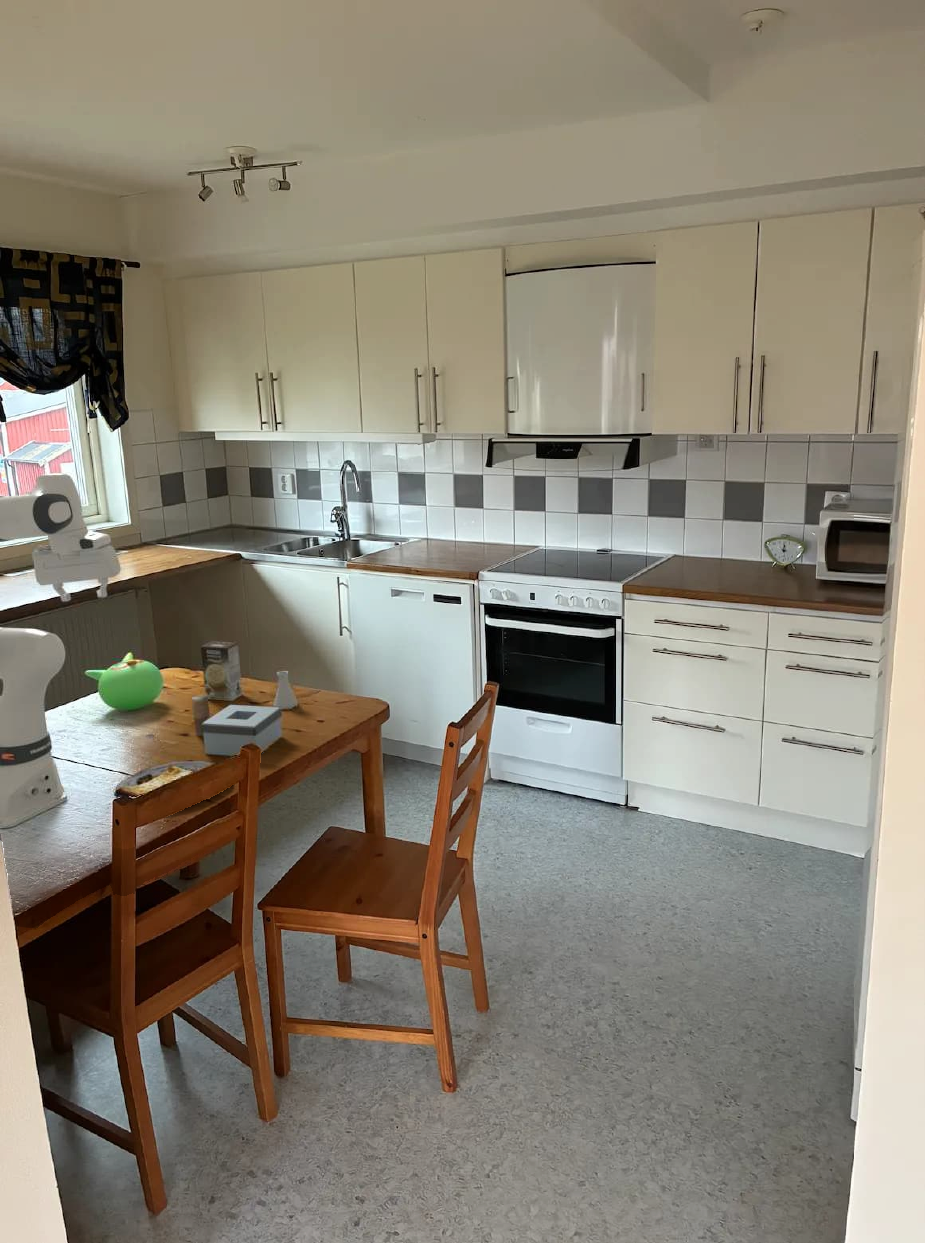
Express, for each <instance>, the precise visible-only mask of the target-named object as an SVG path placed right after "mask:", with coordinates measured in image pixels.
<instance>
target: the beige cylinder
mask: <svg viewBox="0 0 925 1243" xmlns="http://www.w3.org/2000/svg"><path fill="white" fill-rule="evenodd" d="M191 702H192V703H191V705H192V711H193V721H194V731H195V736H197V737H204V735H203V732H202V730H201V725H202V723H203V722H205V721H206V720H208V719H209V718H211V715H210V714H211V713H210V707H209V706H210V704H209V699H208V696H207V695H205V694H197V695H194V696H192V697H191Z"/></svg>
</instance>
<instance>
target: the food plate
mask: <svg viewBox="0 0 925 1243" xmlns="http://www.w3.org/2000/svg"><path fill="white" fill-rule="evenodd" d="M211 764H216V763H214V762H207V761H202V760H201V761H199V760H198V761H195V760H194V761H189V760H188V761H187V760H186V761H177V762H169V763H164V764H161V765H157V766H152V767H151V766H150V767H147V768H144V769H142V770H140V771H138V772H135V773H134V774H132V775H130V776H129V777H126V778H124V780H122V781H120V782H119V783H118V784H117V785H116V787H115V791H114V793H113V795H114V797H115V798H116V799H117V798H118V797H121V796H131V797H137V796H139V795H143V794H145V793H146V792H149V791H152V789H154V788H158V787H160V786H161V785H163V784H167V783H169V782H171V781H172V780H176V779H178V778H180V777H181V776H185V775H188V774H190V773H191V772H195V771H197V770H199V769H201V768H205V767H207V766H209V765H211Z"/></svg>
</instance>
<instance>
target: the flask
mask: <svg viewBox="0 0 925 1243" xmlns="http://www.w3.org/2000/svg"><path fill="white" fill-rule="evenodd" d="M276 675H277V678H278V684H277V688H276V694H275V695H276V696H275V698H274V702H273V706H272V707H279V708H280V709H281V711H282V710H292V709H294V708H296V707H298V705H299V701H298V699H297V697H296V696H295V695H296V694H295V693H294V691H293V689H292V687H291V684H290V681H289V677H288V676H289V671H287V670H281V671H278V672H276ZM295 706H296V707H295ZM293 707H294V708H293Z"/></svg>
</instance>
